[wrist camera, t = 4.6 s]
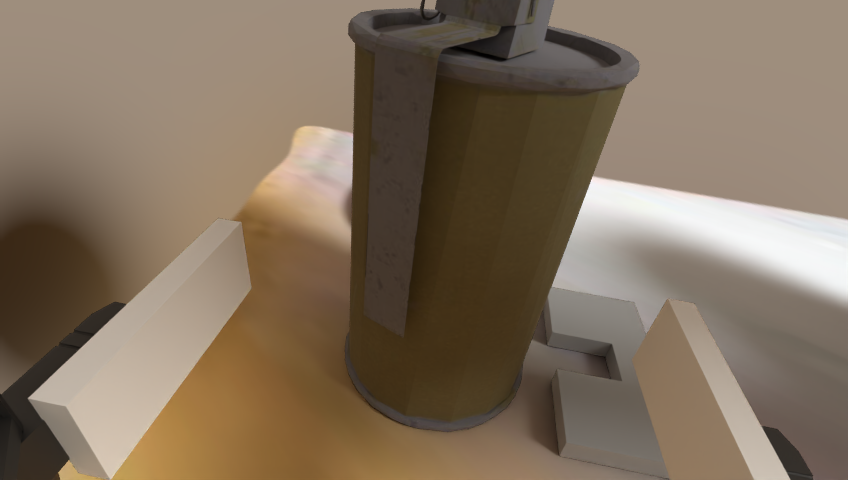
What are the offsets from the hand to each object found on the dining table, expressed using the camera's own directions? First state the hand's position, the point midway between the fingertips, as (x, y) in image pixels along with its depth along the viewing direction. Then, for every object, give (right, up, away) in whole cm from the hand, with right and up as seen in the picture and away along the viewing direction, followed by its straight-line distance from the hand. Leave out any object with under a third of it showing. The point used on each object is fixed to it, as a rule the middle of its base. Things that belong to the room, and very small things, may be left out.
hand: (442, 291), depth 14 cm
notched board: (+10, -6, +12) cm, 17 cm away
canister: (0, -5, +12) cm, 13 cm away
